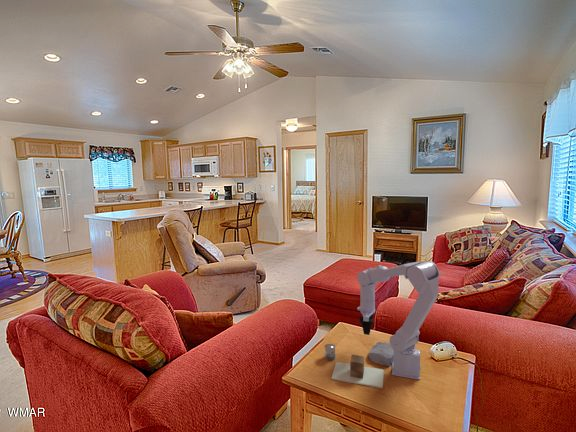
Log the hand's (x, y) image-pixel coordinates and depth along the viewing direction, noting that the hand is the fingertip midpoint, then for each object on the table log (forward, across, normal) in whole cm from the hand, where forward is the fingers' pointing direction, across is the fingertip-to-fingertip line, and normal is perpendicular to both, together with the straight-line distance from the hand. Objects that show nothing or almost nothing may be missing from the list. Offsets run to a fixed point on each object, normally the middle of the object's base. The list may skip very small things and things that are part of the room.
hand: (367, 329), depth 132 cm
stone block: (+10, +2, +6) cm, 12 cm away
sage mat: (+9, +17, -2) cm, 20 cm away
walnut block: (+9, +17, -2) cm, 19 cm away
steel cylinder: (+9, +9, -14) cm, 19 cm away
